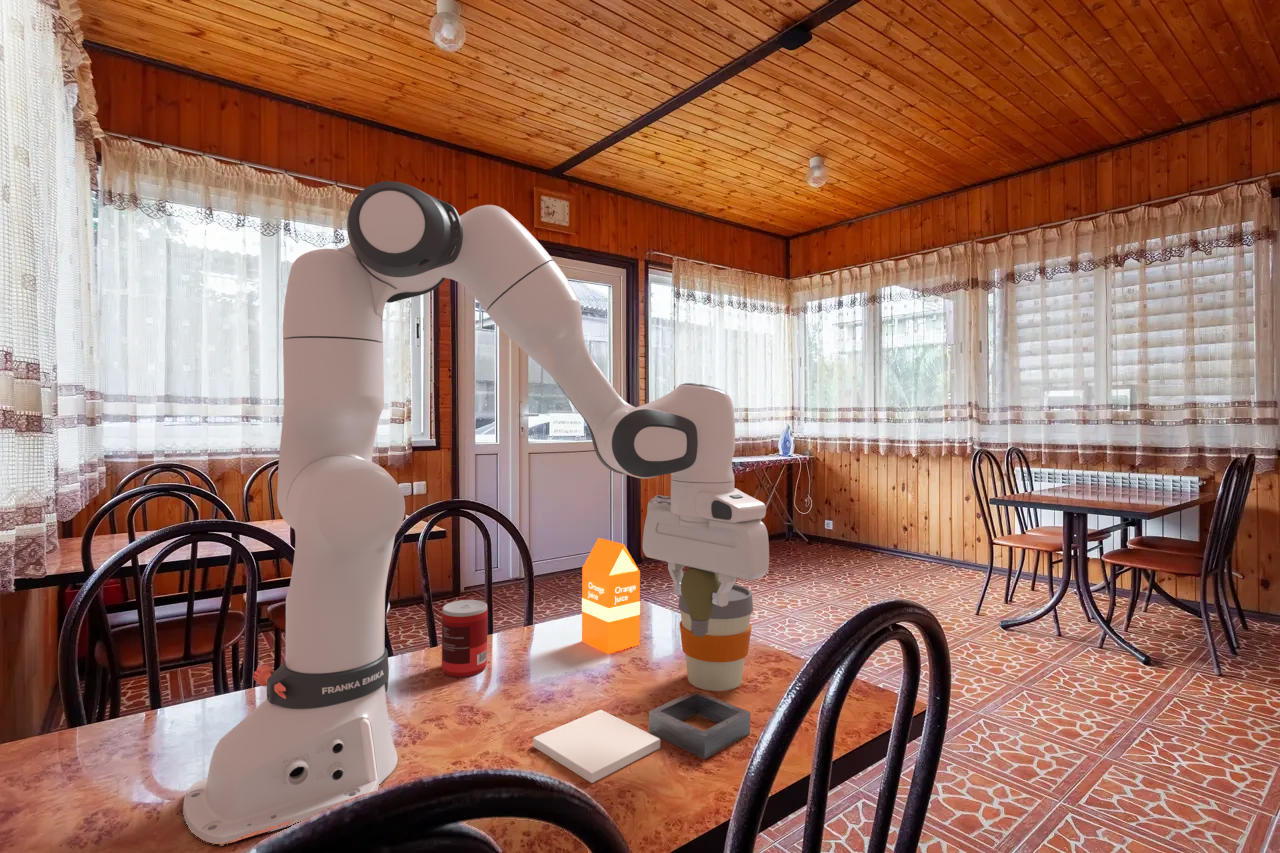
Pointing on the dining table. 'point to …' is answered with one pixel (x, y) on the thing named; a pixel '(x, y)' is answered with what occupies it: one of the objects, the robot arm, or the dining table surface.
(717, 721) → the square socket
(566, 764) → the cream pad
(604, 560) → the orange juice
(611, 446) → the robot arm
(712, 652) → the reusable coffee cup
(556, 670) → the dining table surface
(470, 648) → the canned food
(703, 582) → the light bulb
